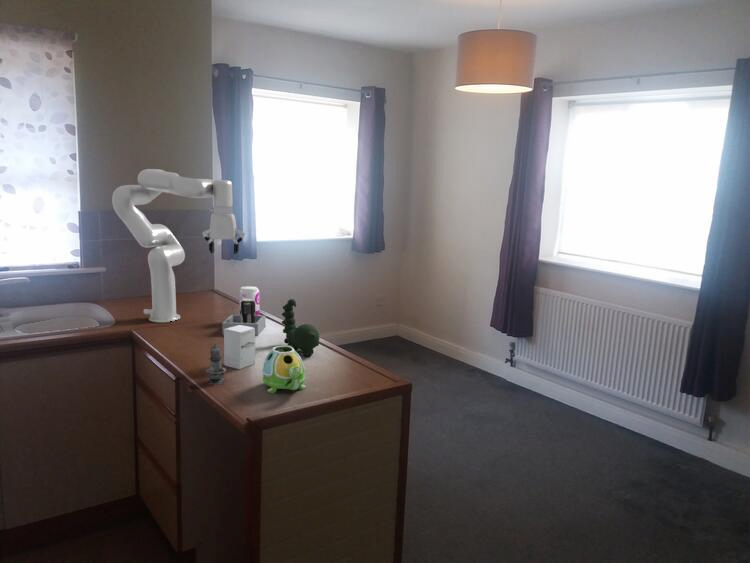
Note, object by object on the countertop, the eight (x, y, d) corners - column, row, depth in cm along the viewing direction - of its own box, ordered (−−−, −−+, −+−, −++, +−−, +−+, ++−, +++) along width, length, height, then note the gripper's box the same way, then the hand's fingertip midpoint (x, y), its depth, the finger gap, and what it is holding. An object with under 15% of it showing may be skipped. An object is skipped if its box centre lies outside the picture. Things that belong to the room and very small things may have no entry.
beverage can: (248, 325, 239) (248, 297, 237) (258, 328, 236) (258, 299, 234) (238, 328, 235) (237, 299, 233) (247, 330, 231) (247, 301, 229)
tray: (222, 334, 228) (222, 322, 227) (232, 325, 241) (231, 314, 241) (257, 335, 227) (257, 324, 227) (265, 326, 241) (265, 315, 240)
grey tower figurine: (208, 378, 180) (207, 340, 177) (227, 378, 180) (226, 340, 178) (204, 384, 174) (203, 346, 172) (224, 384, 174) (223, 346, 172)
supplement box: (240, 369, 188) (239, 332, 186) (223, 365, 192) (222, 328, 189) (256, 364, 194) (255, 327, 192) (239, 359, 198) (239, 324, 196)
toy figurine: (276, 348, 217) (303, 361, 196) (274, 298, 215) (301, 306, 194) (299, 345, 222) (328, 358, 201) (297, 296, 220) (326, 303, 199)
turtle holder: (276, 403, 161) (276, 362, 159) (257, 382, 177) (256, 345, 175) (317, 396, 167) (318, 357, 165) (295, 377, 183) (295, 340, 181)
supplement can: (261, 320, 252) (261, 286, 249) (256, 324, 244) (255, 290, 241) (243, 319, 253) (243, 285, 250) (237, 324, 245) (236, 289, 242)
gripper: (198, 211, 231) (200, 253, 234) (242, 212, 230) (242, 255, 233) (204, 209, 238) (206, 251, 241) (246, 211, 237) (247, 252, 241)
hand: (224, 253), depth 237 cm, fingers open, 9 cm apart
